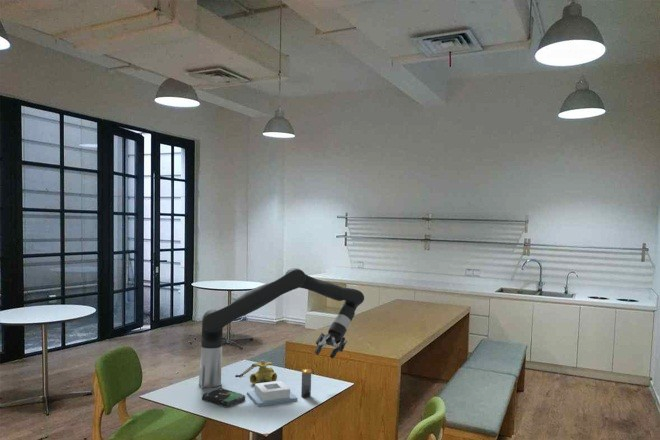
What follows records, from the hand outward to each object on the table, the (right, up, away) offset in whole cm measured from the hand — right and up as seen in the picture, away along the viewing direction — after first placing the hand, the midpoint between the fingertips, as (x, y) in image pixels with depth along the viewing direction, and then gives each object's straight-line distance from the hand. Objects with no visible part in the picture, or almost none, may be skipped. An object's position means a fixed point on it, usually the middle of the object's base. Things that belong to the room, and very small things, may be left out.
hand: (323, 355), depth 206 cm
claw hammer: (-37, -15, +24) cm, 47 cm away
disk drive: (-41, -14, -16) cm, 46 cm away
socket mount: (-22, -14, -12) cm, 29 cm away
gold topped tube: (-7, -15, -9) cm, 19 cm away
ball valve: (-28, -15, +8) cm, 32 cm away
